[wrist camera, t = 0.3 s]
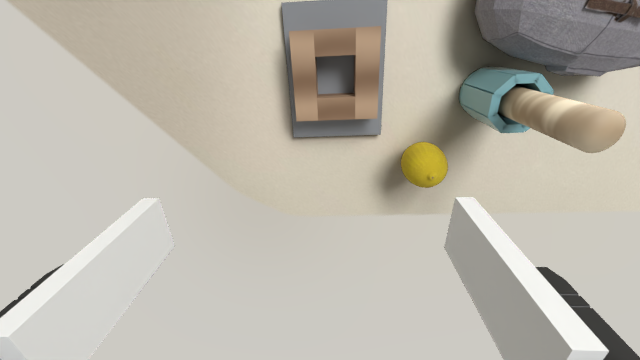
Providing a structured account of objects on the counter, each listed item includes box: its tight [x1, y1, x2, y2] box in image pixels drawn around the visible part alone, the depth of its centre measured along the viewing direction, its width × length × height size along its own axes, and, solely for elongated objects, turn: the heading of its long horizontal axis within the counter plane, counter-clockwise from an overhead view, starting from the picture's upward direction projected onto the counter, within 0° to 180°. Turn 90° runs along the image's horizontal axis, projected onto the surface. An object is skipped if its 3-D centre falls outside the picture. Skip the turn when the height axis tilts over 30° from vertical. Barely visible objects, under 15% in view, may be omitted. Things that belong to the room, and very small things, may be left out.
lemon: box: [401, 142, 448, 188], centre depth 37 cm, size 6×6×8 cm
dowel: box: [497, 86, 626, 153], centre depth 28 cm, size 3×3×17 cm
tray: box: [281, 0, 387, 137], centre depth 36 cm, size 16×12×1 cm
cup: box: [459, 67, 554, 133], centre depth 33 cm, size 6×6×8 cm
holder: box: [289, 26, 381, 121], centre depth 34 cm, size 10×10×3 cm
